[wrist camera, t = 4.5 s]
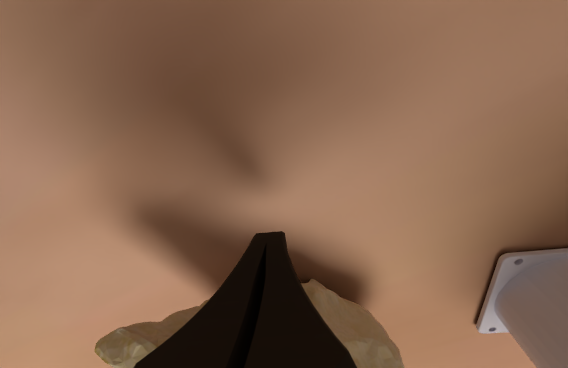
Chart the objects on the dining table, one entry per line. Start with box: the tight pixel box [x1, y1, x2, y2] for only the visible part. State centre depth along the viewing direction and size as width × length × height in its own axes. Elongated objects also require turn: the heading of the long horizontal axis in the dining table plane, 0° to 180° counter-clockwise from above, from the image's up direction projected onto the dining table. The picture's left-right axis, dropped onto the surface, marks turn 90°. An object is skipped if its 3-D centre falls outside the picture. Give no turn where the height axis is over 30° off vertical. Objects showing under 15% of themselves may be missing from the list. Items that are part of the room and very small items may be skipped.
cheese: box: [95, 279, 404, 368], centre depth 17 cm, size 15×7×15 cm
